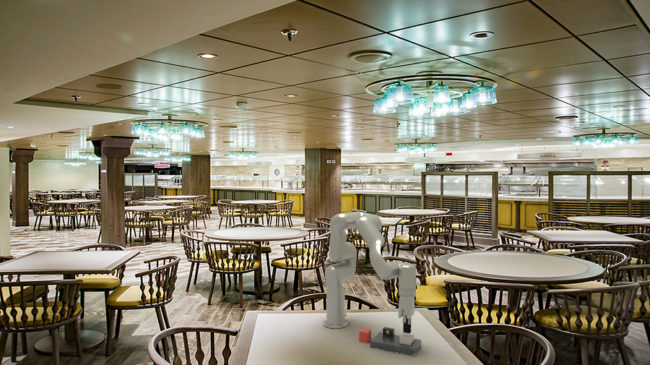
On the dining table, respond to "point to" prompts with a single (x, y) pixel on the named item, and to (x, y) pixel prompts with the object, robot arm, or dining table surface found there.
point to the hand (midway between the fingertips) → (407, 332)
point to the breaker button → (406, 339)
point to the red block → (365, 335)
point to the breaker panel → (393, 342)
